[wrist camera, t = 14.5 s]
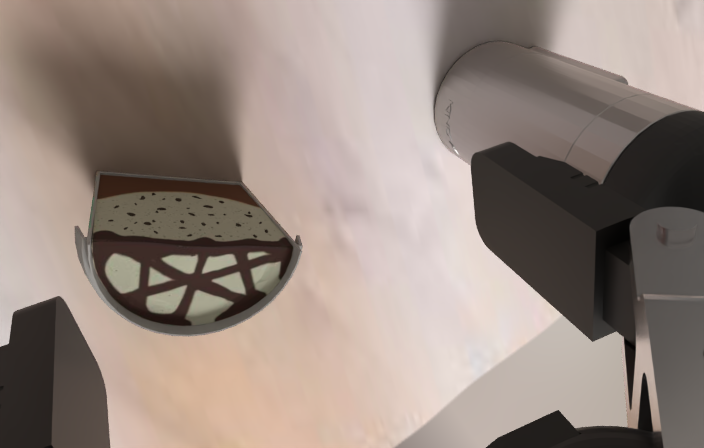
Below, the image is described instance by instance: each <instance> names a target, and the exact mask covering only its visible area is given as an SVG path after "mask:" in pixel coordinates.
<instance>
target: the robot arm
mask: <svg viewBox="0 0 704 448" xmlns="http://www.w3.org/2000/svg"><path fill="white" fill-rule="evenodd" d="M435 124H436V128H437V132H438V135H439V137H440V139H441V141H442V143H443V144H444V145H445V146H446V148H447V149H448V150H449V151H450V152H452V153H453V154H455V155H456V156H458V157H459V158H460V159H462V160H463V161H465V162H466V163H468V164H469V165H471V174H472V186H473V197H474V209H475V220H476V225H477V229H478V232H479V234H480V236H481V238H482V240H483V242H484V243H485V245H486V246H487V247H488V248H489V249H490V250H491V251H492V252H493V253H494V254H495V255H496V256H497V257H499V258H500V259H501V260H502V261H503V262H504V263H505V264H506V265H507V266H509V267H510V268H511V269H512V270H513V271H514V272H515V273H516V274H518V275H519V276H520V277H521V278H522V279H523V280H524V281H525V282H526V283H528V284H529V285H530V286H531V287H532V288H533V289H534V290H535V291H537V292H538V293H539V294H540V295H541V296H542V297H543V298H544V299H545V300H547V301H548V302H549V303H550V304H551V305H552V306H553V307H554V308H556V309H557V310H558V311H559V312H560V313H561V314H562V315H563V316H564V317H566V318H567V319H568V320H569V321H570V322H571V323H572V324H573V325H575V326H576V327H577V328H578V329H579V330H580V331H581V332H582V333H583V334H585V335H586V336H587V337H588V338H589V339H590V340H591V341H592V342H593V341H595V340H597V339H600V338H602V337H604V336H607V335H609V334H611V333H614V332H616V331H617V332H618V333H619V334H621V335H622V336H623V339H622V361H623V373H624V386H625V399H626V411H627V423H628V428H627V427H618V426H593V427H581V428H574V427H573V426H572V425H571V423H570V422H569V421H568V420H567V419H566V418H565V417H564V416H563V415H562V414H561V412H560V411H559V410H558V411H555V412H553V413H551V414H548V415H546V416H544V417H542V418H540V419H538V420H535V421H533V422H531V423H529V424H527V425H525V426H523V427H520V428H518V429H516V430H514V431H512V432H509V433H507V434H505V435H503V436H501V437H499V438H497V439H496V440H495V441H493V442H492V443H491V444H490V445H488V446H487V447H486V448H704V112H702V111H700V110H697V109H694V108H691V107H688V106H686V105H683V104H680V103H677V102H674V101H672V100H669V99H666V98H663V97H660V96H657V95H654V94H651V93H649V92H646V91H643V90H640V89H637V88H635V87H632V86H629V85H628V82H627V80H626V79H625V78H624V77H623V76H620V75H617V74H614V73H611V72H608V71H606V70H603V69H600V68H597V67H594V66H591V65H588V64H585V63H583V62H580V61H577V60H574V59H571V58H568V57H565V56H562V55H559V54H557V53H554V52H551V51H548V50H545V49H542V48H539V47H536V46H534V47H531V48H528V49H527V48H524V47H521V46H519V45H516V44H513V43H509V42H503V41H496V42H488V43H485V44H482V45H479V46H477V47H475V48H473V49H472V50H470V51H468V52H467V53H466V54H464V55H463V56H462V57H461V58H460V59H459V60H458V61H456V63H455V64H454V65H453V66H452V68H451V69H450V70H449V71H448V73H447V75H446V77H445V78H444V80H443V82H442V84H441V86H440V89H439V92H438V95H437V99H436V105H435ZM0 448H110V438H109V424H108V409H107V395H106V389H105V384H104V380H103V377H102V374H101V371H100V369H99V366H98V364H97V362H96V359H95V358H94V356H93V354H92V352H91V350H90V348H89V346H88V344H87V342H86V340H85V338H84V336H83V335H82V333H81V331H80V329H79V327H78V325H77V323H76V321H75V319H74V317H73V315H72V313H71V312H70V310H69V308H68V306H67V304H66V303H65V301H64V300H63V299H62V298H61V297H60V296H57V297H54V298H52V299H49V300H46V301H43V302H40V303H37V304H34V305H31V306H29V307H26V308H23V309H20V310H17V311H15V312H14V313H13V317H12V325H11V332H10V340H9V344H7V345H4V346H2V347H0Z"/></svg>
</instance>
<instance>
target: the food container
mask: <svg viewBox="0 0 704 448" xmlns="http://www.w3.org/2000/svg"><path fill="white" fill-rule="evenodd" d="M75 244H76V249H77V254H78V258H79V261H80V263H81V265H82V268H83V270H84V273H85V275H86V276H87V278H88V280H89V281H90V283H91V285H92V286H93V288H94V289H95V291H96V292H97V294H98V296H99V297H100V298H101V299H102V300H103V301H104V302H105V303H106V304H107V306H108V307H109V308H110V309H112V310H113V311H114V312H116V313H117V314H118V315H120V316H121V317H122V318H124V319H126V320H127V321H129V322H131V323H133V324H135V325H137V326H139V327H141V328H143V329H146V330H149V331H152V332H155V333H159V334H165V335H171V336H197V335H206V334H210V333H215V332H219V331H222V330H225V329H228V328H231V327H233V326H236V325H238V324H240V323H242V322H244V321H246V320H248V319H249V318H251V317H252V316H254V315H255V314H257V313H258V312H260V311H262V310H263V309H264V308H265V307H266V306H267V305H268V304H270V303H271V302H272V301H273V300H274V299H275V298H276V297H277V296H278V295H279V293H280V292H281V291H282V290H283V289H284V287H285V286H286V284H287V283H288V281H289V280H290V278H291V277H292V275H293V273H294V271H295V269H296V267H297V265H298V262H299V259H300V256H301V253H302V251H301V250H302V243H301V239H300V236H299V235H297V236H296V239H295V241H294V240H293V239H292V238H291V237H290V236H289V235H288V233H287V232H286V231H285V230H284V229H283V228H282V227H281V226H280V224H279V223H278V222H277V221H276V220H275V219H274V218H273V216H272V215H271V214H270V213H269V212H268V211H267V210H266V208H265V207H264V206H263V205H262V204H261V203H260V202H259V200H258V199H257V198H256V197H255V196H254V195H253V194H252V193H251V191H250V190H249V189H248V188H247V187H246V186H245V185H244V183H243V182H233V181H220V180H207V179H194V178H182V177H169V176H156V175H143V174H130V173H118V172H105V171H97V172H96V179H95V186H94V193H93V200H92V207H91V214H90V221H89V228H88V236H87V237H84V235H83V234H82V232H81V230H80V228H79V227H78V226H75Z"/></svg>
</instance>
